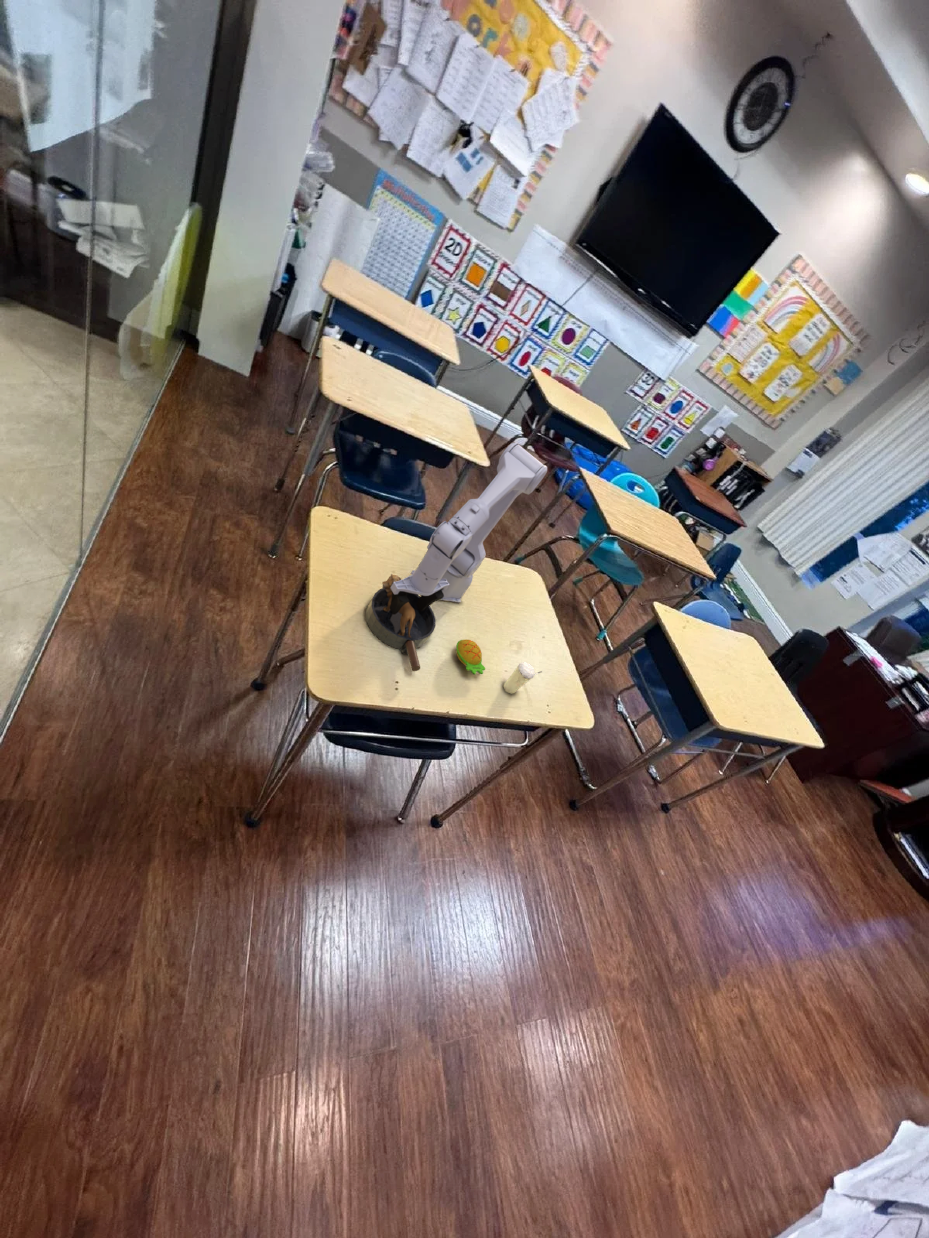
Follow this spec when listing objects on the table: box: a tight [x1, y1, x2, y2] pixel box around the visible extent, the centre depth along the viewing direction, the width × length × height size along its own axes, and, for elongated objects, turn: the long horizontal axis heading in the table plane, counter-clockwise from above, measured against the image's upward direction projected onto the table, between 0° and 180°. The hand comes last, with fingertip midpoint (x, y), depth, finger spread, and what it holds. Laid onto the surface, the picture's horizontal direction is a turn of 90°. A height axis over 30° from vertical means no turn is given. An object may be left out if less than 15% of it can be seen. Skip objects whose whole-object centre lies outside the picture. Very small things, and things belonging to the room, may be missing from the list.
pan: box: [365, 587, 437, 650], centre depth 122 cm, size 16×16×4 cm
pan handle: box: [400, 641, 421, 672], centre depth 115 cm, size 7×2×4 cm, turn 17°
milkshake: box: [503, 661, 543, 695], centre depth 124 cm, size 4×5×10 cm
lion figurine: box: [382, 573, 415, 638], centre depth 120 cm, size 15×5×9 cm, turn 42°
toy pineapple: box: [455, 638, 486, 675], centre depth 124 cm, size 7×10×5 cm
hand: (406, 609), depth 120 cm, fingers open, 7 cm apart
